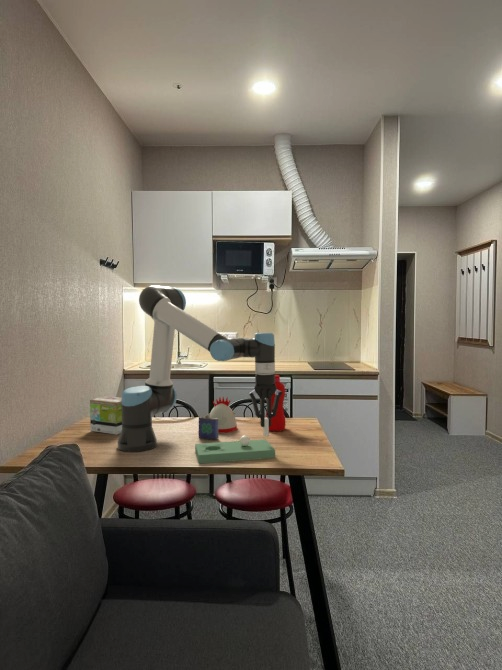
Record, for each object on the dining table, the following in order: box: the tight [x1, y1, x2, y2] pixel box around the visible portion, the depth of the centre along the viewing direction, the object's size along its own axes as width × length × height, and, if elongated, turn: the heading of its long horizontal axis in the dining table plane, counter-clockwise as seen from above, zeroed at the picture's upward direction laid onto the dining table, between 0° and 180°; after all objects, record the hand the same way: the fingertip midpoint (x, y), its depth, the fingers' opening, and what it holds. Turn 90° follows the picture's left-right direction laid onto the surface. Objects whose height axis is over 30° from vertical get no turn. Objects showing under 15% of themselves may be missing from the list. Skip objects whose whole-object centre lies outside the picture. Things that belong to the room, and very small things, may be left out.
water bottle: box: [265, 374, 286, 432], centre depth 203 cm, size 9×11×25 cm
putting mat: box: [194, 438, 276, 464], centre depth 166 cm, size 28×14×3 cm, turn 102°
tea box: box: [89, 395, 122, 436], centre depth 201 cm, size 15×10×15 cm, turn 68°
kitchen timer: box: [209, 396, 238, 434], centre depth 204 cm, size 14×14×15 cm
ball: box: [238, 434, 251, 446], centre depth 167 cm, size 4×4×4 cm
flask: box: [198, 413, 219, 441], centre depth 188 cm, size 9×3×11 cm, turn 68°
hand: (266, 435), depth 168 cm, fingers closed
